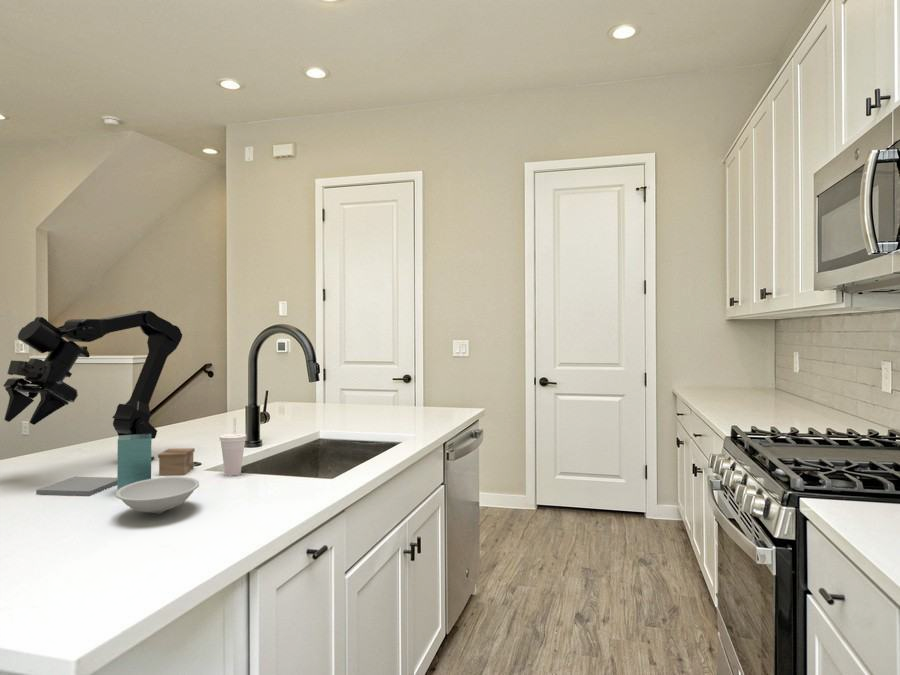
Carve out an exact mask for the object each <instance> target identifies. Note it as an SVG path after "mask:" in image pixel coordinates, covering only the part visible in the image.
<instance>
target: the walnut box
mask: <svg viewBox="0 0 900 675" xmlns="http://www.w3.org/2000/svg"><path fill="white" fill-rule="evenodd" d="M194 453H195V448H194V447H193V448H192V447H191V448H190V447H189V448H183V447H182V448H167V449H165V450H164V451H162V452H160V453H158V454H157V458H158V475H159V476H185V475H187V474H188V473H190V470H191V469H192V470H193V469H194ZM192 470H191V471H192ZM187 472H188V473H187ZM184 474H185V475H184Z"/></svg>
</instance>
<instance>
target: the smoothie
mask: <svg viewBox="0 0 900 675" xmlns="http://www.w3.org/2000/svg"><path fill="white" fill-rule="evenodd" d="M246 440H247V434H246V433H237V418H236V417H234V418H233V433H225V434H221V435H219V442H220V445H221V453H222V461H223V469H224V475H225V474H226V475H236V476H240V475H241V474H242V473H241V472H242V466H243V460H244V459H243V458H244V452H245V442H246ZM226 475H225V476H226Z"/></svg>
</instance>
